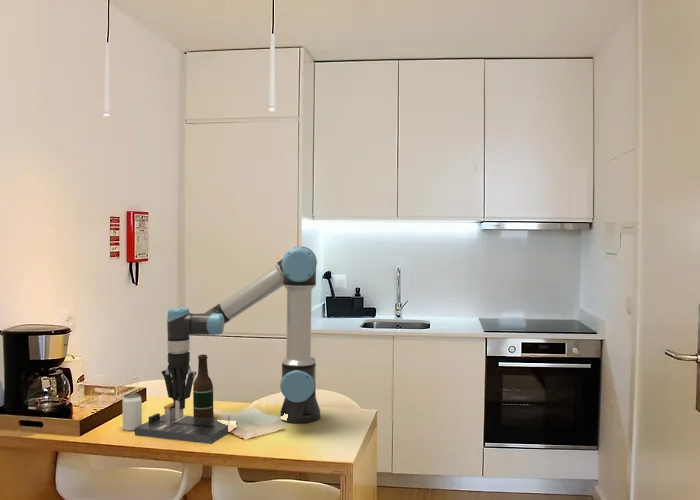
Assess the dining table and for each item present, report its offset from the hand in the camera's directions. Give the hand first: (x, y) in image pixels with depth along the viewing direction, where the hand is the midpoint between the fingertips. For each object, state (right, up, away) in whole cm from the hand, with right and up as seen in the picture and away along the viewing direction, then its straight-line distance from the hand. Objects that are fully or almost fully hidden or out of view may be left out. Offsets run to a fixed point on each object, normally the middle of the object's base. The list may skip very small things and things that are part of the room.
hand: (179, 417), depth 221 cm
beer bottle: (+5, -4, +15) cm, 16 cm away
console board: (+3, -5, -1) cm, 5 cm away
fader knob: (-3, -2, +1) cm, 4 cm away
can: (-18, -5, +3) cm, 19 cm away
